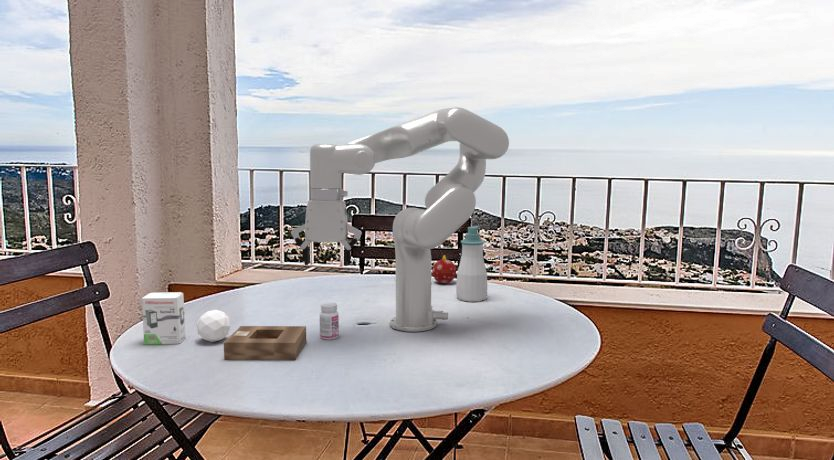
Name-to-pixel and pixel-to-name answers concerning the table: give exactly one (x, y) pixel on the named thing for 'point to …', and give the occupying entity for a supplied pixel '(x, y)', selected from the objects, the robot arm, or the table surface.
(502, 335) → the table surface
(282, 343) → the brown flat recessed slab
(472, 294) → the soap bottle
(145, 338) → the ink box
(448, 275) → the christmas ornament
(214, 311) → the geometric ball
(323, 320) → the pill bottle
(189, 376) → the table surface
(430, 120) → the robot arm
